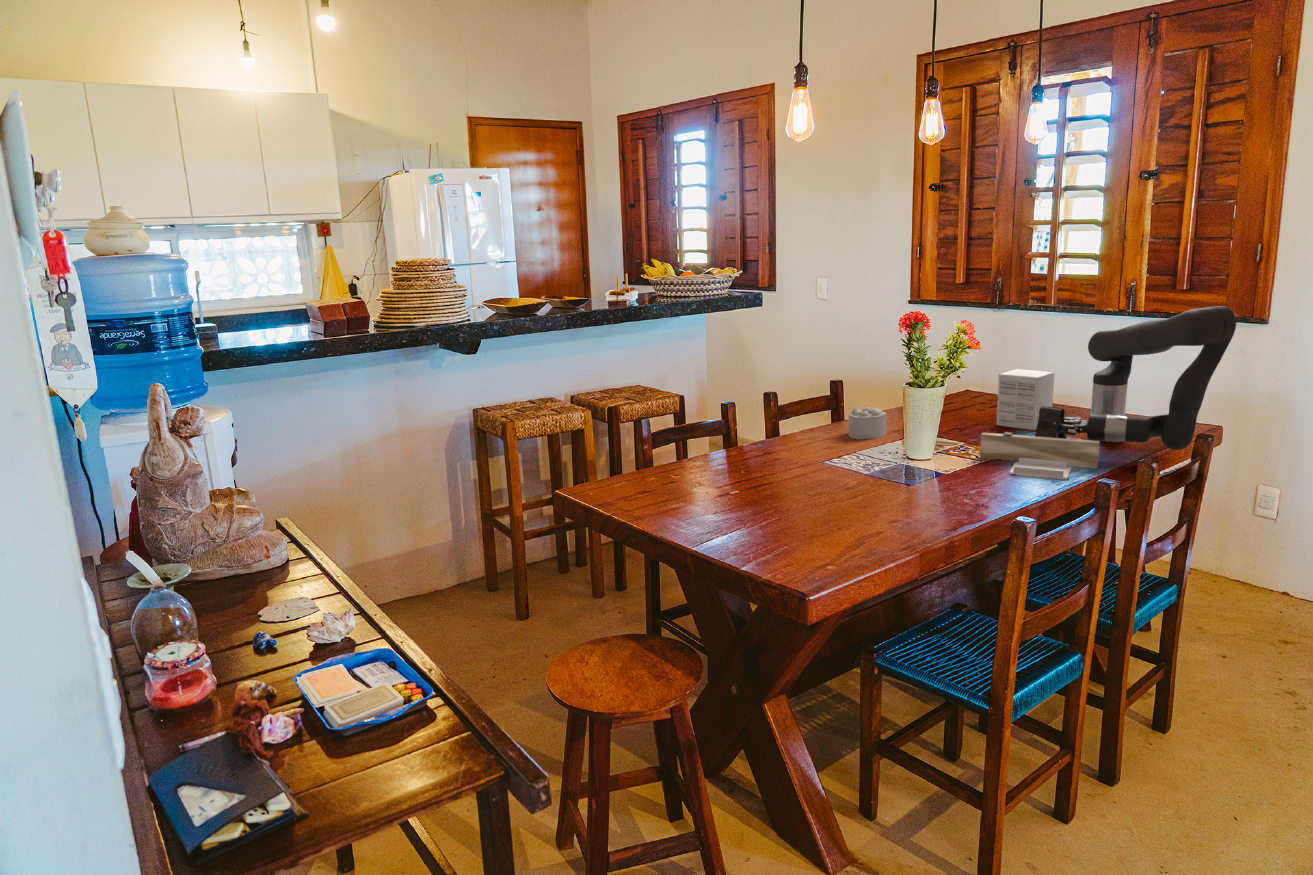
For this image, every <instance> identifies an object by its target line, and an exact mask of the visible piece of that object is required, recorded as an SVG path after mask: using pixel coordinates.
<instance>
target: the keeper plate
mask: <svg viewBox="0 0 1313 875" xmlns="http://www.w3.org/2000/svg"><path fill="white" fill-rule="evenodd" d="M1071 471H1072V466H1067V461H1055V460H1043V459H1031V458H1019V461H1014V463H1013V466H1012V467H1011V469H1010V470H1009V472H1008V474H1009V475H1012V474H1016V475H1015V476H1023V477H1024V476H1025V477H1033V476H1037V477H1036V478H1044V479H1045V478H1047V479H1054V480H1055V479H1056V480H1066V481H1067V480H1068V478H1069V475H1070V474H1071ZM1017 474H1018V475H1017Z"/></svg>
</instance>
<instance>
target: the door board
mask: <svg viewBox="0 0 1313 875" xmlns="http://www.w3.org/2000/svg"><path fill="white" fill-rule="evenodd" d="M1100 442H1101V441H1095V440H1088V439H1078V438H1077V439H1075V438H1067V439H1064V438H1050V437H1036V436H1035V435H1033V436H1032V435H1021V434H1020V435H1019V434H1013V432H1008V431H1004V433H992V432H982V433H981V434H980V447H979V448H980V450H979V451H980V452H979V459H984V460H985V459H987V460H996V459H1001V460H1000V461H1008V460H1009V462H1019V458H1031V459H1043V460H1055V461H1067V467H1075V468H1076V467H1077V468H1080V467H1081V468H1087V469H1089V468H1091V469H1098V465H1099V455H1100Z"/></svg>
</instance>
